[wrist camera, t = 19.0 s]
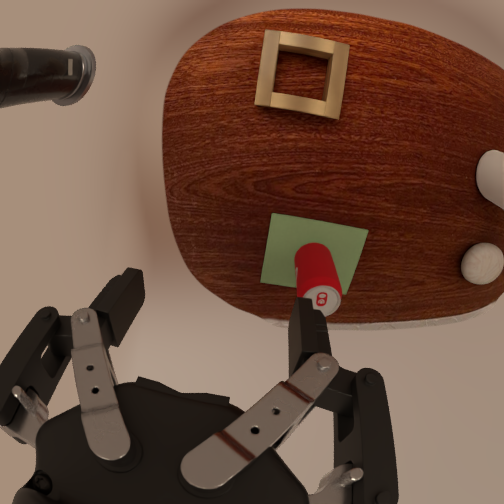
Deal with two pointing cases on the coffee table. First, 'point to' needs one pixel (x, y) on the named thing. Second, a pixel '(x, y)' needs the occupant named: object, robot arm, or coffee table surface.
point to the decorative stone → (482, 263)
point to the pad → (303, 232)
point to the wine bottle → (491, 177)
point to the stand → (307, 46)
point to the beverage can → (317, 277)
